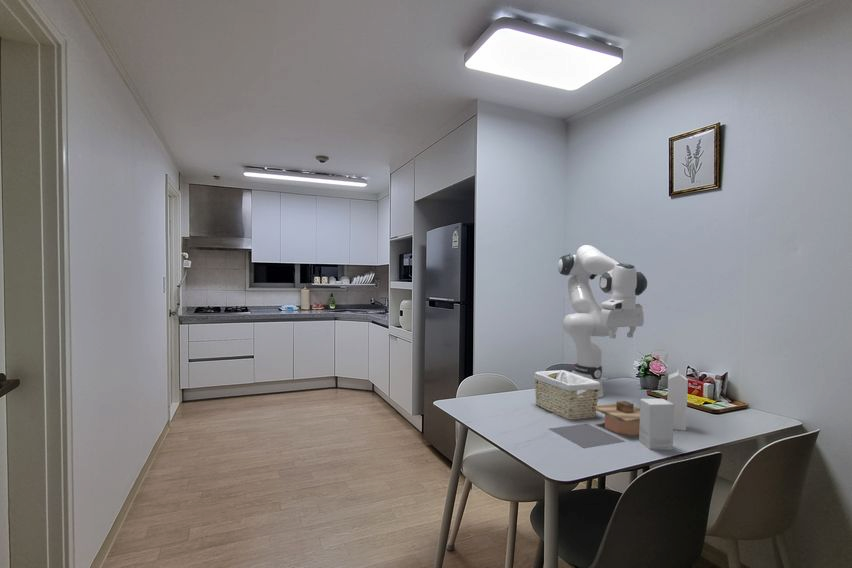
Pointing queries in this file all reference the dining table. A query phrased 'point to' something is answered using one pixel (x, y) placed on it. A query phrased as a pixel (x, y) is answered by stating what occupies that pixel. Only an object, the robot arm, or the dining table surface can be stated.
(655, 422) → the skincare box
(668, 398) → the milk
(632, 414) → the oak lid
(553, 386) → the storage basket
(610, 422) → the terracotta bowl
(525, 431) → the dining table surface
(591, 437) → the rubber mat
